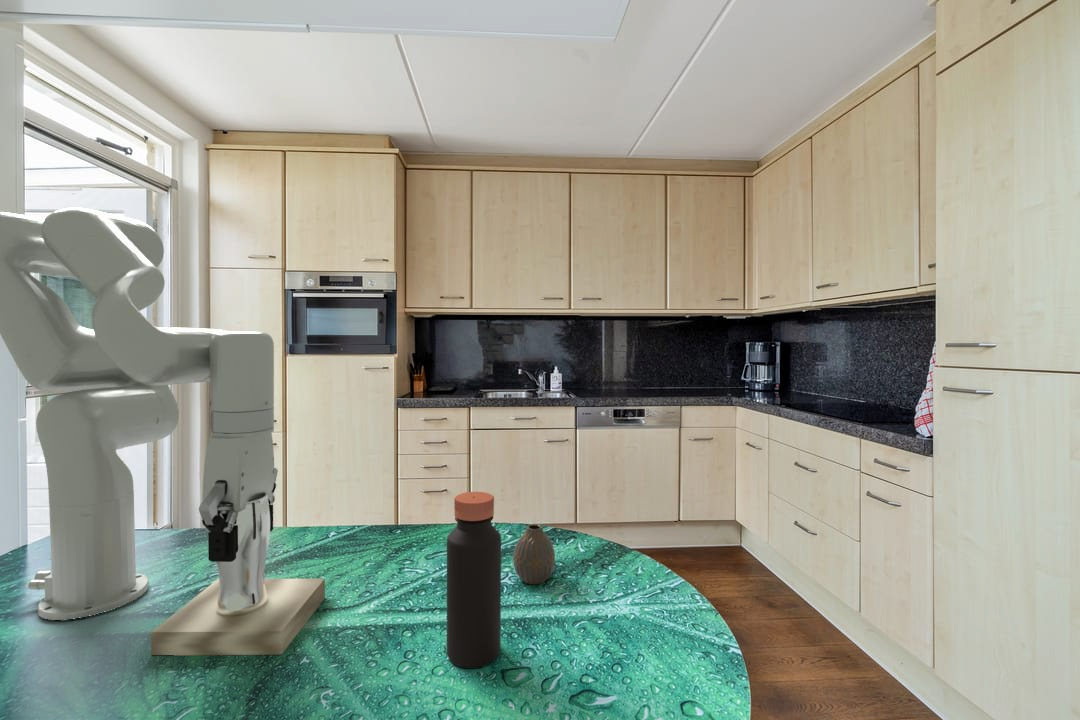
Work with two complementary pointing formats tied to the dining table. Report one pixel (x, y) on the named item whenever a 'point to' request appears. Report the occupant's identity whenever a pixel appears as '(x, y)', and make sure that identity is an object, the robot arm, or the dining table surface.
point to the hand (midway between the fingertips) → (243, 545)
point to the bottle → (473, 583)
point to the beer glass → (246, 561)
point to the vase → (534, 555)
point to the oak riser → (240, 622)
